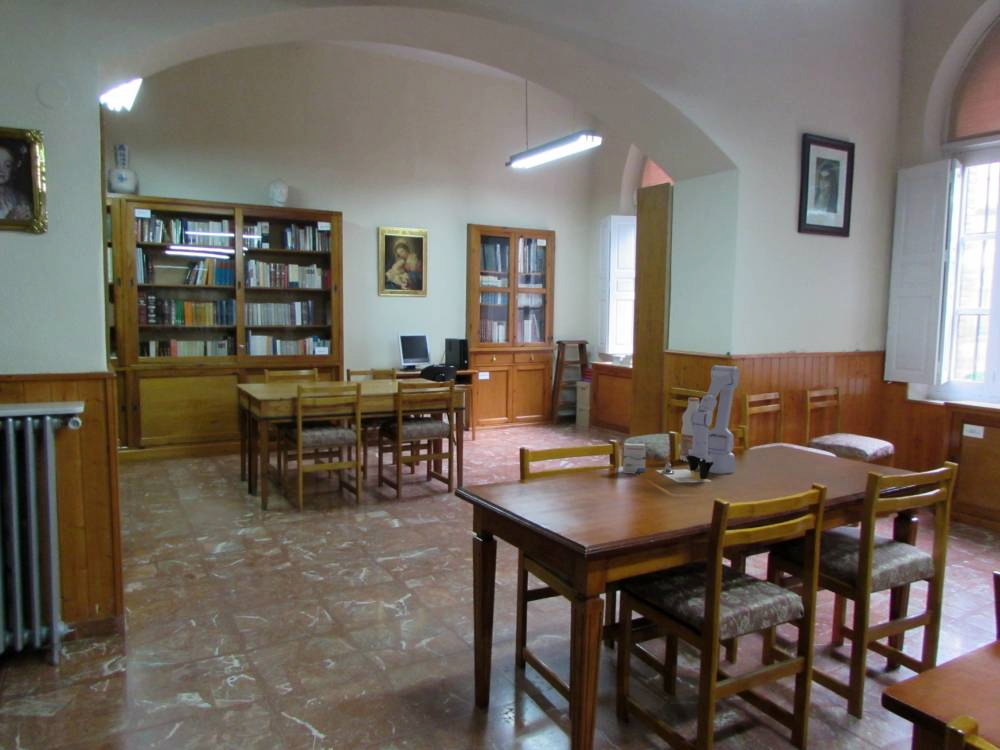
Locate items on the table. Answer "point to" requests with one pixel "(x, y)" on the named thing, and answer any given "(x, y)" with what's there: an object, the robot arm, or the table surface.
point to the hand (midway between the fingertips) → (698, 476)
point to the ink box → (634, 458)
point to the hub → (668, 469)
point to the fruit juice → (688, 428)
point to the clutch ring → (695, 475)
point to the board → (683, 476)
